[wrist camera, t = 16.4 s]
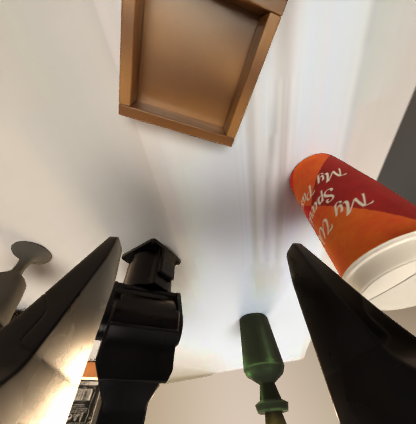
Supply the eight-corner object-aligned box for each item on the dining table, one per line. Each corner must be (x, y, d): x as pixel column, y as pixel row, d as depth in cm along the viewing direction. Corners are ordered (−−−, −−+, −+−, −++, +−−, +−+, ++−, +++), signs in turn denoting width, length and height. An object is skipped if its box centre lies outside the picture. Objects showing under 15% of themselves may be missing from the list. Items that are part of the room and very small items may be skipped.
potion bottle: (229, 319, 47) (243, 434, 33) (258, 307, 43) (288, 428, 30) (248, 328, 51) (268, 434, 37) (276, 318, 48) (310, 429, 34)
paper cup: (293, 140, 20) (406, 243, 10) (362, 145, 21) (540, 245, 10) (272, 202, 25) (330, 316, 14) (328, 204, 26) (425, 314, 15)
